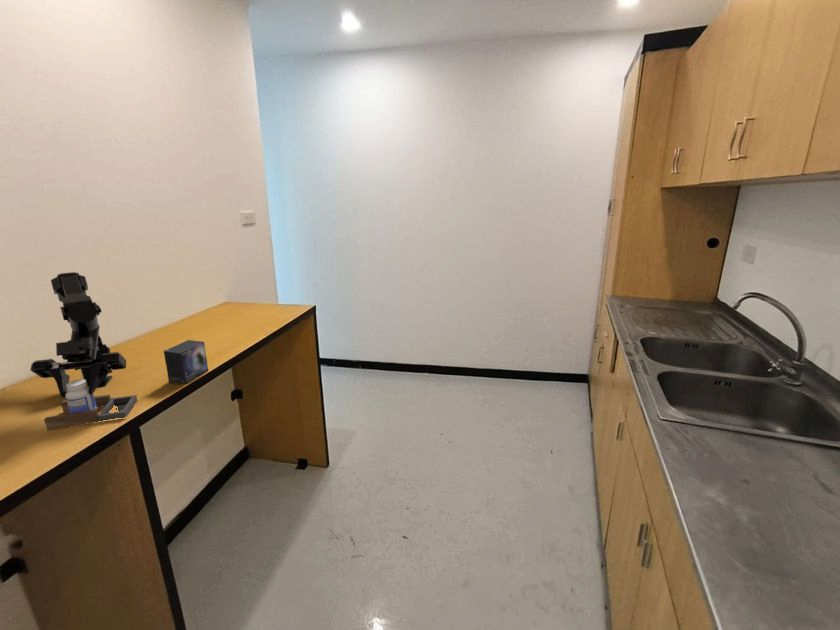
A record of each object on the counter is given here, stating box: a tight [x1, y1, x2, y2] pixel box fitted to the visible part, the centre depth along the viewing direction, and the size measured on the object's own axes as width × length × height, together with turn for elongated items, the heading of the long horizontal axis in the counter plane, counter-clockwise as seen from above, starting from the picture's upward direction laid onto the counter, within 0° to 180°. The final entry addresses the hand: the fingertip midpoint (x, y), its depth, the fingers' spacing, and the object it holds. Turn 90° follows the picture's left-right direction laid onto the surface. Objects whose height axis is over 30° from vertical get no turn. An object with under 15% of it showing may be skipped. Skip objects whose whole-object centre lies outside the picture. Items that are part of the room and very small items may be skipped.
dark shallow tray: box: [98, 394, 138, 421], centre depth 108 cm, size 10×6×2 cm, turn 20°
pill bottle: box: [65, 378, 98, 414], centre depth 104 cm, size 5×5×10 cm
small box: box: [163, 339, 209, 384], centre depth 127 cm, size 11×6×10 cm, turn 168°
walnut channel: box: [43, 394, 111, 431], centre depth 105 cm, size 10×10×3 cm
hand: (76, 395), depth 102 cm, fingers closed on pill bottle, 5 cm apart
